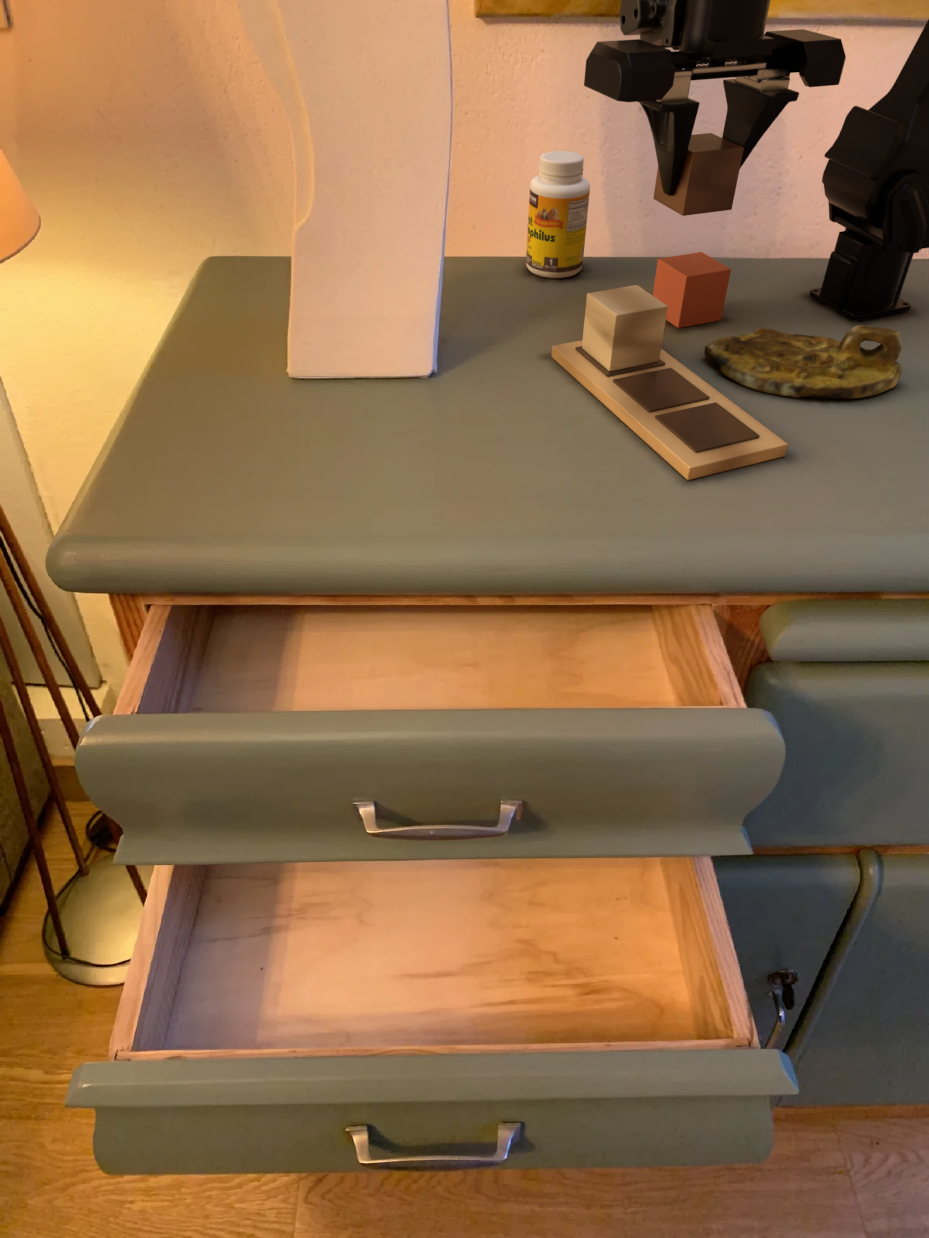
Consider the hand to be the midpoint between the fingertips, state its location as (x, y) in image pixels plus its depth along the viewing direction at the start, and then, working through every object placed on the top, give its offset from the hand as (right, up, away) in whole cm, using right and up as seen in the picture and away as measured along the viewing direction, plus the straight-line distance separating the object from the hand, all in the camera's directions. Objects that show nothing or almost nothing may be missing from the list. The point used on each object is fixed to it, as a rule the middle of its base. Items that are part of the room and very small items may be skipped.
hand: (694, 191), depth 70 cm
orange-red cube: (+2, -7, +9) cm, 12 cm away
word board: (-3, -17, -3) cm, 18 cm away
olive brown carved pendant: (+9, -14, +1) cm, 17 cm away
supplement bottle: (-9, 0, +17) cm, 20 cm away
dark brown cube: (0, -1, +1) cm, 1 cm away
